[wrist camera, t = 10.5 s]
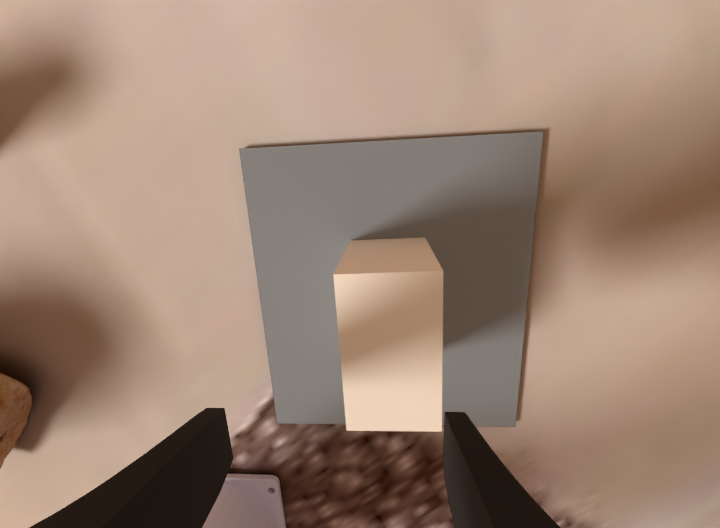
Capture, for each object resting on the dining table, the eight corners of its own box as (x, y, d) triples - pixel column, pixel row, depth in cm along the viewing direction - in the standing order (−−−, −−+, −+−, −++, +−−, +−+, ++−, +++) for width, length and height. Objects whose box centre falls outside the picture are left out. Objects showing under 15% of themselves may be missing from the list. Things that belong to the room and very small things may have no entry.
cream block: (425, 237, 18) (443, 270, 12) (425, 354, 20) (441, 431, 14) (350, 240, 18) (333, 274, 12) (357, 355, 20) (346, 430, 14)
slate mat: (512, 422, 21) (515, 427, 21) (279, 418, 22) (277, 423, 22) (539, 132, 16) (543, 131, 16) (242, 148, 18) (239, 148, 17)
